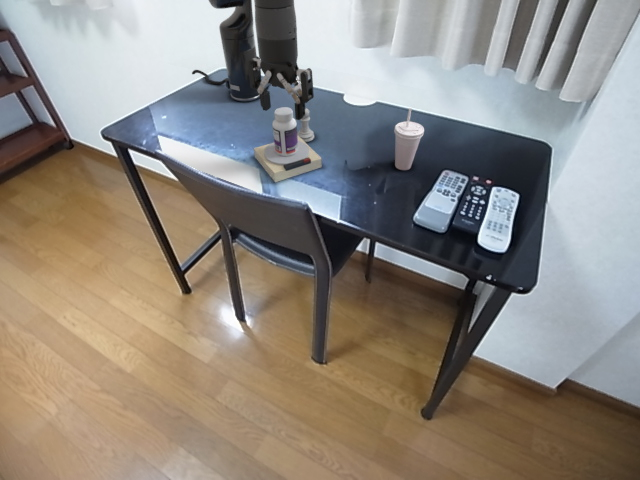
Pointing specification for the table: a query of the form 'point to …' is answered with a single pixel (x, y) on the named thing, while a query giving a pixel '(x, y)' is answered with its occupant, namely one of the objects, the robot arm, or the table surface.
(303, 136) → the chess piece
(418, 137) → the smoothie
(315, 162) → the scale
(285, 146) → the pill bottle
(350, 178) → the table surface
